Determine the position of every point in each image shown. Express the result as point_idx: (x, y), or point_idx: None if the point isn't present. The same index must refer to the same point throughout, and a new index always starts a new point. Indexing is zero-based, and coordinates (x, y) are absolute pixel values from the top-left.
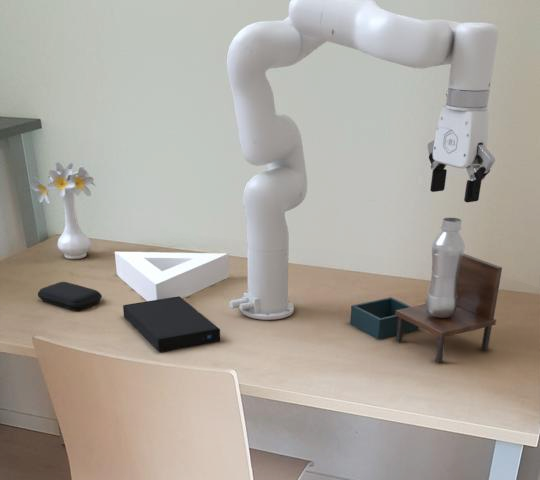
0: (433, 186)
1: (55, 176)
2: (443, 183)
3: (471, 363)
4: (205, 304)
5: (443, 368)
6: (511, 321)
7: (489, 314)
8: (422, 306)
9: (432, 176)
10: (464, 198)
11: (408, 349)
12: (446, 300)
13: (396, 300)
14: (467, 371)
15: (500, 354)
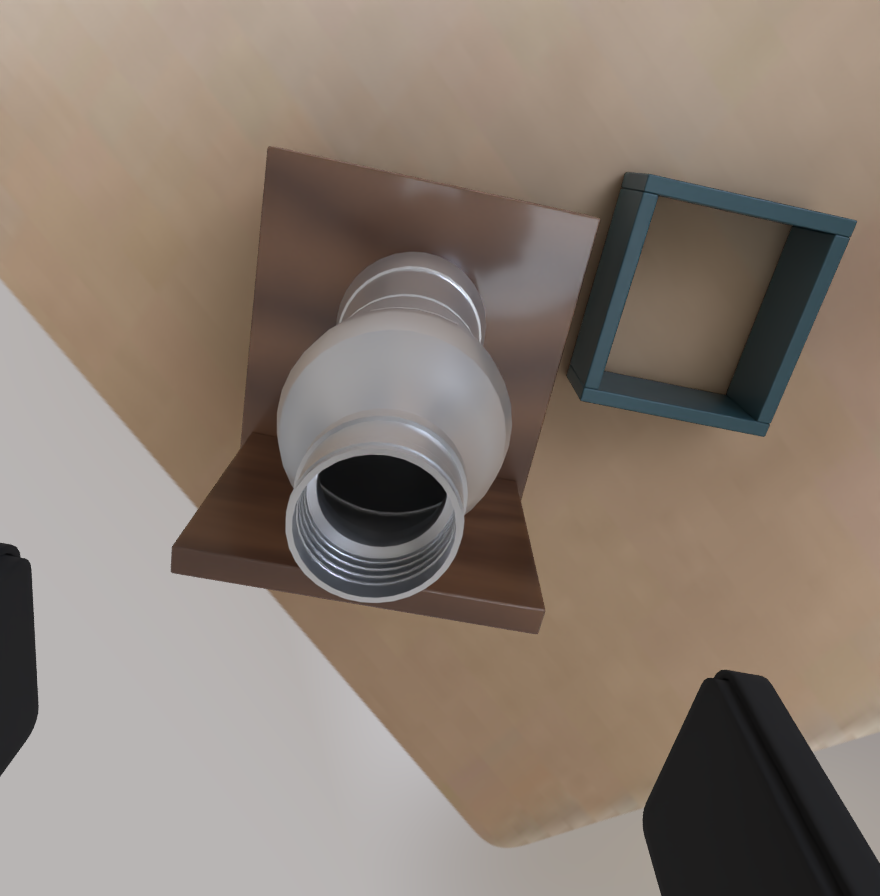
0: (740, 724)
1: None
2: (675, 886)
3: (234, 261)
4: None
5: (264, 134)
6: (391, 649)
7: (250, 441)
8: (539, 354)
9: (873, 874)
10: (7, 574)
11: (474, 184)
12: (350, 295)
13: (724, 421)
14: (191, 185)
15: (230, 405)
